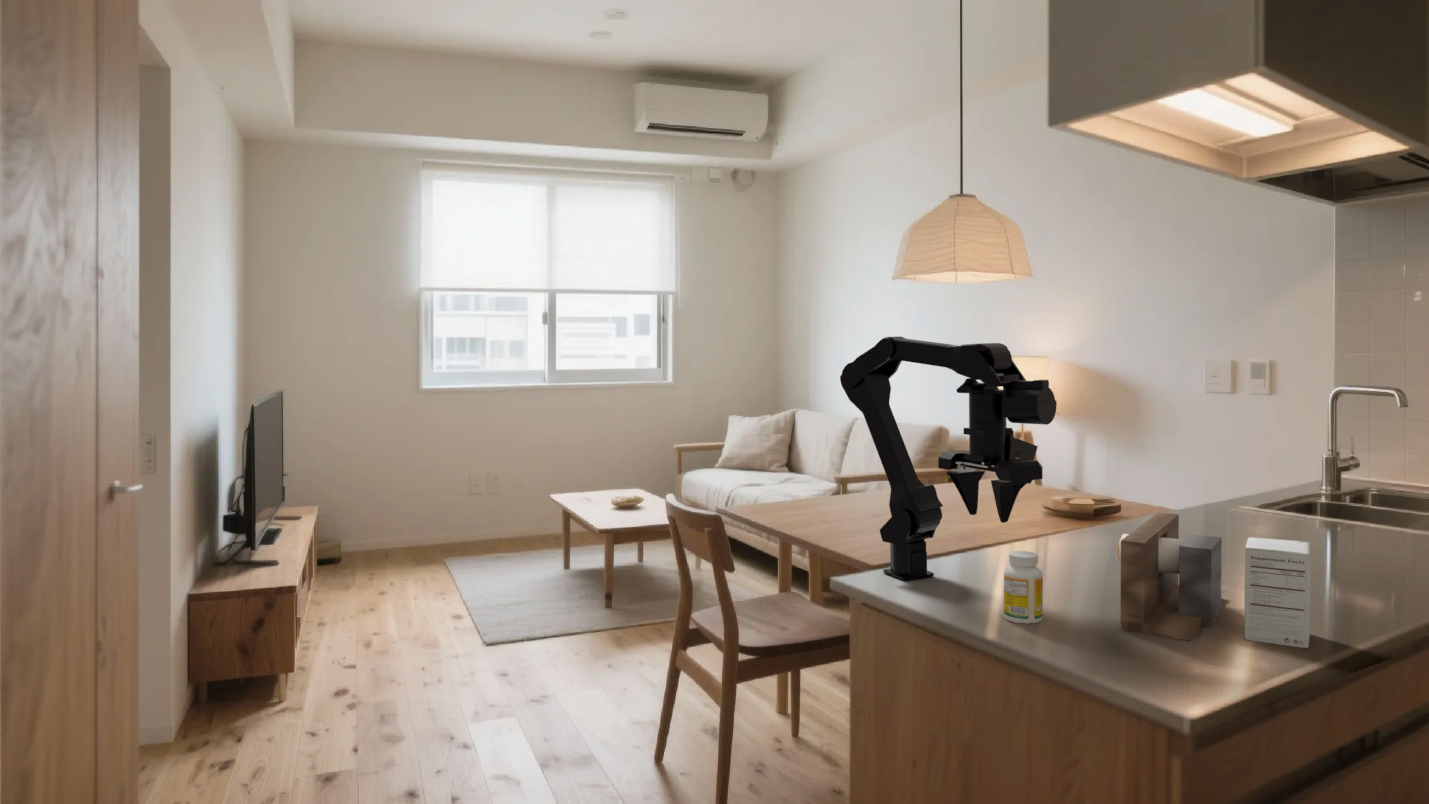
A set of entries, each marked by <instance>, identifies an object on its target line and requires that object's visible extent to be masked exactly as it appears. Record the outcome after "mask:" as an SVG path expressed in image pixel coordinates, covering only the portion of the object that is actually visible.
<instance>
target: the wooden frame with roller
mask: <svg viewBox="0 0 1429 804" xmlns="http://www.w3.org/2000/svg"><path fill="white" fill-rule="evenodd" d="M1179 520H1180V514H1176V513H1167V512H1165V513H1164V512H1157V513H1155V514H1154V515H1153V516H1151V517H1150V518H1149V519H1148V520H1147V521H1145V522H1144V523H1142V524H1141V525H1140V526H1138V527H1137V528H1136V529H1134V530H1133V531H1132V532H1130V533H1128V534H1129V535H1128V536H1126V537H1125V538H1124V539H1122V540H1121V565H1120V630H1121V629H1124V630H1123V631H1128V632H1133V633H1141V634H1146V635H1147V634H1148V635H1154V636H1159V637H1160V636H1161V637H1164V638H1165V637H1167V638H1173V639H1178V640H1185V641H1191V642H1192V641H1194V639H1196V637H1197V635H1198V634H1199V632H1200V630H1201V629H1202V628H1203V627H1207V628H1211V627H1212V626H1213V624H1214V622H1215V621H1216V620H1217V618H1218V616H1219V615H1220V613H1221V611H1222V548H1223V547H1222V544H1223V543H1222V542H1223V541H1222V540H1223V539H1222V537H1220V536H1211V535H1210V536H1209V535H1201V534H1198V535H1197V534H1190V535H1189V536H1188V537H1187V538H1186V539H1185V540H1184V542H1183V543H1182V544H1181V545H1180V546H1179V574H1176V573H1168V572H1160V571H1158V538H1159V537H1163V538H1173V539H1180V538H1179V537H1180V536H1179V535H1180V534H1179V530H1180V529H1179V527H1180V525H1179V524H1180V523H1179V522H1180V521H1179Z"/></svg>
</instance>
